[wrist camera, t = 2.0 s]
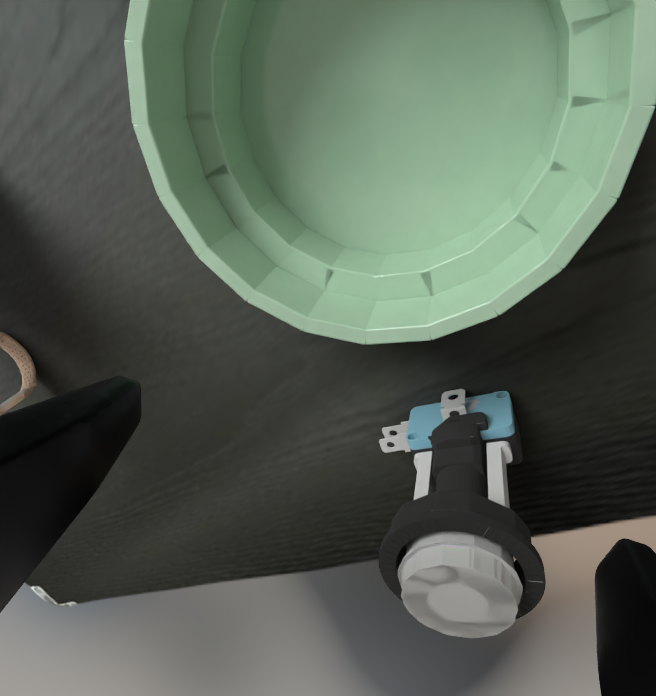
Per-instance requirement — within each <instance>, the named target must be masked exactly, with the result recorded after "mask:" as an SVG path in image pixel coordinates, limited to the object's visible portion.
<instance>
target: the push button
mask: <svg viewBox="0 0 656 696" xmlns="http://www.w3.org/2000/svg"><path fill="white" fill-rule="evenodd" d="M452 395H458V397H457V398H456V399H454V400H449V399H448V398H449V397H450V396H452ZM391 430H394V431H396V432H397V435H395V436H392V435H391V434H390V433H389V432H390V431H391ZM382 432H383V434H384V437H385V439H380V440H379V443H380V445H381V448H382V450H383V452H385V453H386V452H393V451H400V450H405V452H410V451H411V453H412V455H413V458H414V465H415V467H416V470H417V478H416V486H415V493H414V500H413V501H410V502H407V503H405V504H403V505H402V506H401V508H400V509H399V511H398V512H397V514H396V515H395V517H394V518H393V520H392V523H391V529H390V530H389V531H388V532H387V533H386V535H385V537H384V539H383V541H382V544H381V548H380V554H379V568H380V572H381V575H382V577H383V579H384V581H385V583H386V584H387V586H388V587H389V589H390V590H391V591H392V592H393V593H394V594H395V595H396V596H397V597H398V598H399V599H401V600H402V601H403V603H404V605H405V606H406V608H407V610H408V612H409V613H411V614H412V615H413V616H414V617H415V618H416V619H417V620H418V621H419V622H421V623H423V624H424V625H425V626H428V627H430V628H432V629H435V630H437V631H439V632H441V633H443V634H447V635H453V636H460V637H467V638H478V637H485V636H492V635H496V634H499V633H500V632H502V631H503V630H505V629H506V628H508V627H510V626H511V625H512V624H513V622H514V621H515V619H518V618H520V617H522V616H524V615H525V614H527V613H528V612H530V611H531V610H532V609H533V608H534V607H535V606H536V605H537V604H538V603H539V601H540V600H541V598H542V596H543V594H544V590H545V575H544V567H543V563H542V560H541V558H540V556H539V553H538V552H537V550H536V549H535V547H534V546H533V545H532V544H531V536H530V530H529V528H528V527H527V526H526V524H525V523H524V522H523V521H522V520H521V518H520V517H519V516H518V515H517V513H516V512H515V511H513V510H512V509H510V508H509V496H508V483H507V471H506V465H514V464H519V463H520V462H521V461H522V460H523V455H522V447H521V439H520V431H519V426H518V423H517V419H516V416H515V413H514V409H513V406H512V402H511V399H510V395H509V393H508V392H507V391H498V392H494V393H490V394H485V395H479V396H474V397H468V398H465V390H464V389H457V390H452V391H446V392H444V393H443V394H442V398H441V402H440V403H434V404H429V405H423V406H418V407H415V408H413V409H412V410H411V412H410V417H409V421H405V422H401V425H396V426H390V427H384V428H382ZM388 442H392V443H394V444H395V446H394V447H392V448H391V447H388V446H387V443H388ZM487 497H488V499H487ZM406 543H407V548H406V546H405V544H406ZM513 556H514V557H515V558H516V561H515V562H514V560H513Z"/></svg>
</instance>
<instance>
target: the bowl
mask: <svg viewBox="0 0 656 696" xmlns="http://www.w3.org/2000/svg"><path fill="white" fill-rule="evenodd" d="M125 39H126V40H124V45H125V55H126V65H127V75H128V86H129V96H130V106H131V116H132V123H133V124H134V125H133V127H134V130H135V133H136V136H137V139H138V141H139V144H140V147H141V150H142V153H143V156H144V158H145V161H146V164H147V167H148V170H149V172H150V175H151V178H152V181H153V184H154V187H155V189H156V192H157V195H158V197H160V198H159V199H160V201H161V202H162V204H163V205H164V207H165V209H166V210H167V212H168V213H169V215H170V216H171V218H172V219H173V221H174V222H175V224H176V225H177V227H178V228H179V230H180V231H181V233H182V234H183V236H184V237H185V239H186V240H187V242H188V243H189V245H190V246H191V248H192V249H193V251H194V253H195V254H196V256H198V258H199V259H200V260H201V261H202V262H203V263H204V264H205V265H207V266H208V267H209V268H210V269H211V270H212V271H213V272H214V273H215V274H216V275H218V276H219V277H220V278H221V279H222V280H223V281H224V282H225V283H226V284H227V285H229V286H230V287H231V288H232V289H233V290H234V291H235V292H236V293H237V294H238V295H239V296H241V297H242V298H243V299H244V300H245V301H248V303H250V304H252V305H254V306H256V307H257V308H259V309H261V310H263V311H265V312H267V313H269V314H271V315H273V316H275V317H277V318H279V319H281V320H282V321H284V322H286V323H288V324H290V325H292V326H294V327H296V328H298V329H300V330H302V331H303V330H304V332H307V333H312V334H317V335H321V336H326V337H331V338H335V339H340V340H345V341H349V342H354V343H359V344H363V345H365V344H367V345H370V344H385V343H400V342H415V341H430V340H431V339H432V340H434V339H437V338H440V337H443V336H445V335H448V334H451V333H454V332H456V331H459V330H462V329H465V328H468V327H470V326H473V325H476V324H479V323H481V322H484V321H487V320H490V319H493V318H495V317H497V316H498V315H501V314H503V313H504V312H505V311H507V310H508V309H510V308H511V307H512V306H514V305H515V304H516V303H518V302H519V301H521V300H522V299H523V298H525V297H526V296H528V295H529V294H530V293H532V292H533V291H534V290H536V289H537V288H539V287H540V286H541V285H543V284H544V283H546V282H547V281H548V280H550V279H551V278H552V277H554V276H555V275H557V274H558V273H559V272H561V271H562V269H564V268H565V267H566V266H567V264H568V263H569V262H570V261H571V259H572V258H573V257H574V255H575V254H576V253H577V252H578V250H579V249H580V248H581V247H582V245H583V244H584V243H585V241H586V240H587V239H588V238H589V236H590V235H591V234H592V233H593V231H594V230H595V229H596V227H597V226H598V225H599V224H600V222H601V221H602V220H603V219H604V217H605V216H606V215H607V213H608V212H609V211H610V210H611V208H612V207H613V206H614V205H615V203H616V202H617V198H619V197H620V195H621V192H622V190H623V187H624V185H625V182H626V180H627V177H628V175H629V172H630V170H631V167H632V165H633V162H634V160H635V157H636V155H637V152H638V150H639V148H640V145H641V143H642V140H643V138H644V135H645V133H646V130H647V128H648V125H649V123H650V120H651V118H652V115H653V113H654V110H655V106H654V105H656V0H130V5H129V12H128V18H127V24H126V31H125Z"/></svg>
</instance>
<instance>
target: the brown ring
mask: <svg viewBox="0 0 656 696" xmlns="http://www.w3.org/2000/svg"><path fill="white" fill-rule="evenodd" d="M12 339H13V338H11V337H10V336H8V335H7V334H4V333H2V332H0V347H3V348H2V349H3V350H5V351H6V352H7V353H10V356H11V357H12V358H13V359H14V360H16V361H15V362H16V363H17V365H18V367H19V368H20V372H21V374H22V384H23V385H22V387H21V390H20V392H18V393H17V394H15V395H14V396H12V397H11V398H9V399H8V400H6V401H5V402H4V403H2V404H1V405H0V415H1V414H3V413H4V412H6V411H7V410H9V409H10V408H12V407H13V406H15V405H16V404H17V403H19V402H20V401H22V400H23V399H24V398H25V397H27V396H28V395H29V394H30V393H31V392H32V391H33V387H34V386H36V384H37V383H36V378H35V377H36V370H35V366H34V362H32V358H31V357H30V355H29V354H28V353H27V351H26V350H25V349H24V347H23V346H21V345H20V344H19V343H18V342H17V341H16V340H15V339H13V340H12Z"/></svg>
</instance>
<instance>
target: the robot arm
mask: <svg viewBox="0 0 656 696" xmlns="http://www.w3.org/2000/svg"><path fill="white" fill-rule="evenodd" d="M140 419H141V387H140V384H139V382H137V381H136V380H133V379H129V378H126V377H123V376H115V377H112V378H109V379H106V380H103V381H100V382H97V383H95V384H92V385H89V386H86V387H83V388H80V389H77V390H74V391H71V392H68V393H65V394H63V395H60V396H57V397H54V398H51V399H48V400H45V401H42V402H39V403H36V404H33V405H31V406H28V407H25V408H22V409H19V410H16V411H13V412H10V413H7V414H4V415H1V416H0V612H1V611H2V610H3V609H4V607H5V606H6V605H7V604H8V602H9V601H10V600H11V598H12V597H13V596H14V595H15V594H16V592H17V591H18V589H19V588H20V587H21V586H22V585H23V583H24V582H25V581H26V580H27V578H28V577H29V576H30V575H31V573H32V572H33V571H34V569H35V568H36V567H37V566H38V564H39V563H40V562H41V561H42V559H43V558H44V557H45V556H46V554H47V553H48V552H49V551H50V549H51V548H52V547H53V545H54V544H55V543H56V542H57V540H58V539H59V538H60V537H61V535H62V534H63V533H64V532H65V530H66V529H67V528H68V526H69V525H70V524H71V523H72V521H73V520H74V519H75V518H76V516H77V515H78V514H79V513H80V511H81V510H82V509H83V508H84V506H85V505H86V504H87V502H88V501H89V500H90V499H91V497H92V496H93V495H94V493H95V492H96V491H97V489H98V488H99V486H100V485H101V483H102V482H103V480H104V478H105V477H106V475H107V474H108V472H109V471H110V469H111V467H112V466H113V464H114V463H115V461H116V459H117V458H118V456H119V455H120V453H121V451H122V450H123V448H124V447H125V445H126V443H127V442H128V440H129V439H130V437H131V436H132V434H133V432H134V431H135V429H136V428H137V426H138V424H139V422H140ZM595 598H596V599H595V600H596V632H597V657H598V658H597V659H598V672H599V681H600V688H601V695H602V696H656V554H655V552H654V551H653V550H652V549H651V548H650V547H648V546H647V545H644V544H641V543H638V542H635V541H632V540H629V539H621V540H619V541H618V542H617V543H616V544H615V545H614V546H613V548H612V549H611V550H610V552H609V553H608V554H607V555H606V557H605V558H604V559H603V560H602V561H601V563H600V564H599V566H598V567H597V570H596V574H595Z"/></svg>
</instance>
